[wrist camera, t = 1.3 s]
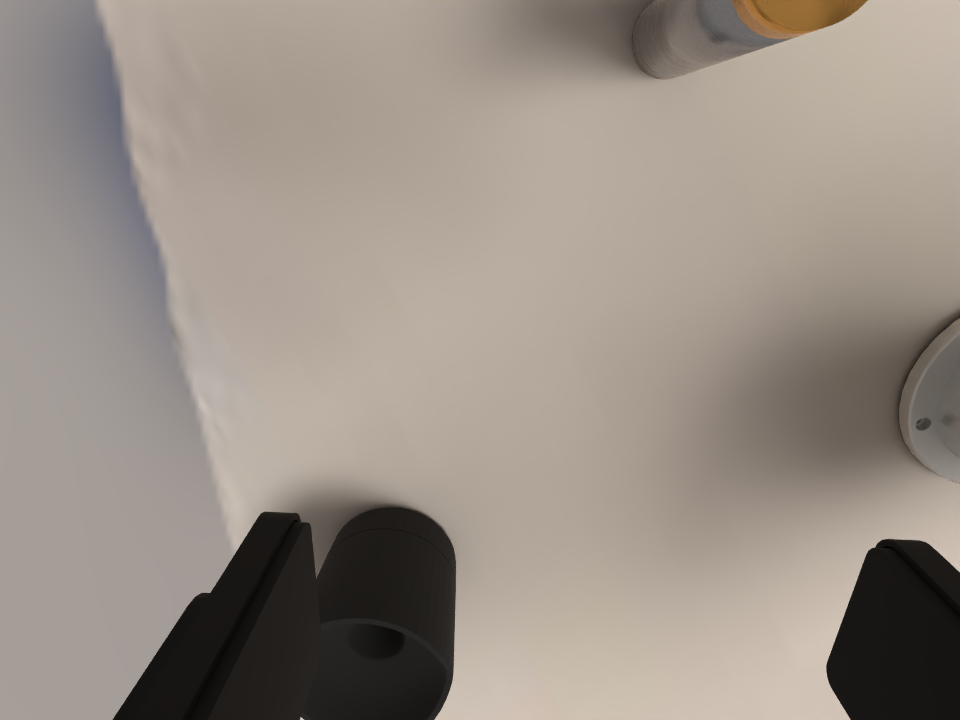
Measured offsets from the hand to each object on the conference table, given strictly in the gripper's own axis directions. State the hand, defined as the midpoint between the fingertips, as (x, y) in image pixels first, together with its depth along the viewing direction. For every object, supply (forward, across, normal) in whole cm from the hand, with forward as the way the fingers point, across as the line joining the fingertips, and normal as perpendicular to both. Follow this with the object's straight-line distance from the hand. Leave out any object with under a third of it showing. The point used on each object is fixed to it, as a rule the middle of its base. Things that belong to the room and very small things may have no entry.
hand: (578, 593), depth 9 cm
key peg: (+24, -6, -12) cm, 27 cm away
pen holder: (+24, +8, +20) cm, 32 cm away
